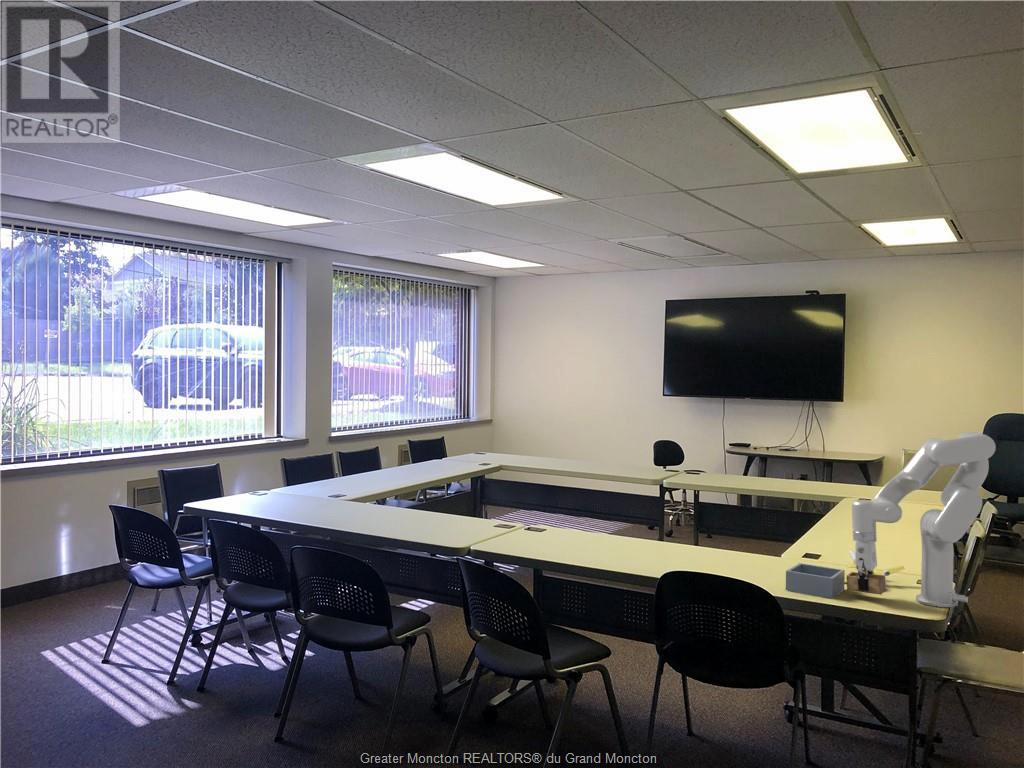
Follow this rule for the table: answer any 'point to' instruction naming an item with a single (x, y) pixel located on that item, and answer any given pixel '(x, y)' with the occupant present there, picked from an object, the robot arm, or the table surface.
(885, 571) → the toy jet
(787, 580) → the blue-grey open box
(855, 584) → the walnut crate
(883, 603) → the table surface
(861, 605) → the table surface
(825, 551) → the table surface
